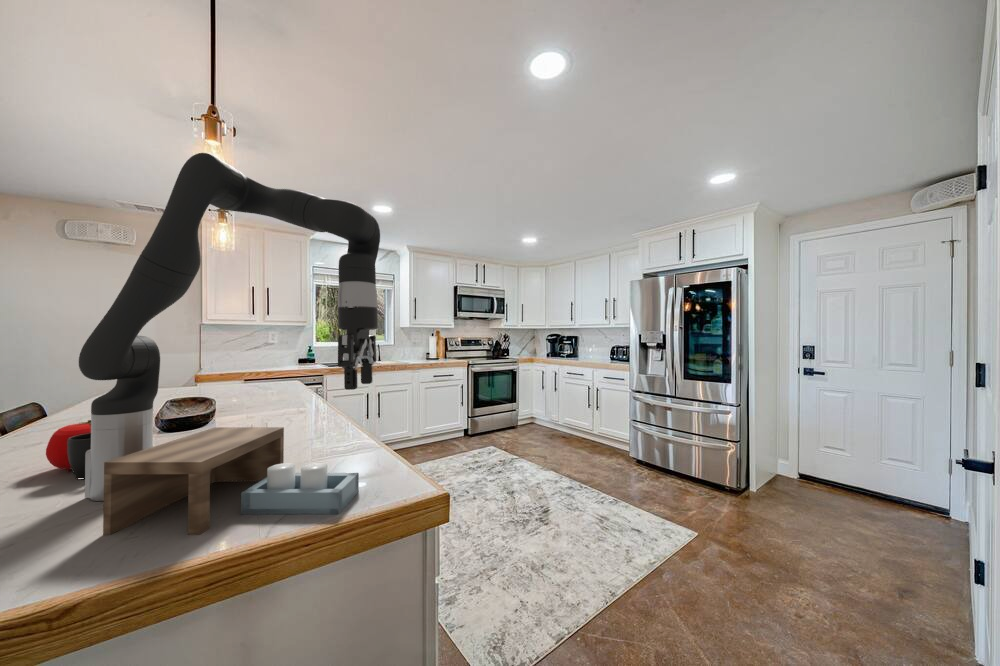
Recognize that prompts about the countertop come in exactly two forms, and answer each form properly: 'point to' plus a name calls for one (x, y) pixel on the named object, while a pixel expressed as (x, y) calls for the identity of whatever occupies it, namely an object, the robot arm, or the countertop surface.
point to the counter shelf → (186, 473)
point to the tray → (300, 491)
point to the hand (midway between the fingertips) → (359, 386)
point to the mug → (78, 453)
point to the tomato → (64, 443)
